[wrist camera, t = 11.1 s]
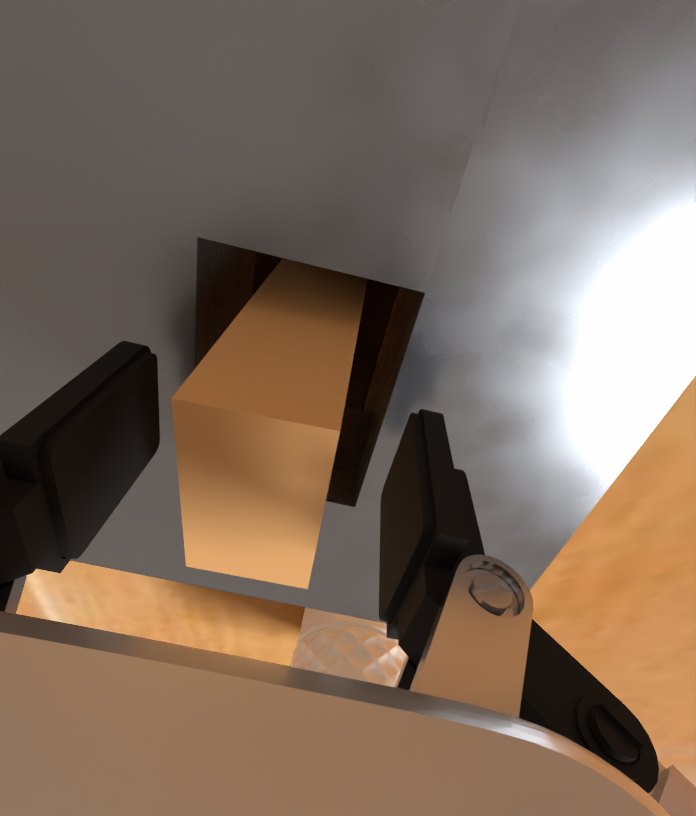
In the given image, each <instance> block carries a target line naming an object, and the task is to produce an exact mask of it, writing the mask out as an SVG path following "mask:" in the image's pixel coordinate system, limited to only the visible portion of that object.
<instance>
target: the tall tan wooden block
mask: <svg viewBox="0 0 696 816" xmlns="http://www.w3.org/2000/svg"><path fill="white" fill-rule="evenodd" d="M367 280H368V279H367V278H363V277H359V276H355V275H350V274H346V273H342V272H338V271H334V270H330V269H326V268H322V267H318V266H314V265H310V264H306V263H301V262H297V261H293V260H289V259H285V258H283V259H282V260H281V261H280V262H279V264H278V265H277V266H276V267H275V269H274V270H273V271H272V272H271V274H270V275H269V276H268V277H267V279H266V280H265V281H264V282H263V284H262V285H261V286H260V288H259V289H258V290H257V291H256V293H255V294H254V295H253V296H252V298H251V299H250V300H249V301H248V303H247V304H246V305H245V306H244V308H243V309H242V310H241V311H240V313H239V314H238V315H237V316H236V318H235V319H234V320H233V321H232V323H231V324H230V325H229V327H228V328H227V329H226V330H225V332H224V333H223V334H222V335H221V337H220V338H219V339H218V340H217V342H216V343H215V344H214V345H213V347H212V348H211V349H210V350H209V352H208V353H207V354H206V355H205V357H204V358H203V359H202V360H201V362H200V363H199V364H198V366H197V367H196V368H195V369H194V371H193V372H192V373H191V374H190V376H189V377H188V378H187V379H186V381H185V382H184V383H183V384H182V386H181V387H180V388H179V389H178V391H177V392H176V393H175V394H174V396H173V397H172V398H171V400H172V411H173V423H174V434H175V446H176V457H177V469H178V480H179V492H180V503H181V515H182V526H183V538H184V549H185V561H186V567H192V568H197V569H202V570H208V571H213V572H218V573H224V574H229V575H234V576H240V577H245V578H250V579H256V580H261V581H266V582H272V583H277V584H282V585H288V586H293V587H298V588H304V589H308V586H309V581H310V576H311V571H312V566H313V561H314V556H315V551H316V547H317V542H318V537H319V532H320V527H321V522H322V517H323V512H324V507H325V503H326V498H327V493H328V488H329V483H330V478H331V473H332V468H333V464H334V459H335V454H336V449H337V444H338V439H339V434H340V429H341V424H342V418H343V412H344V407H345V401H346V396H347V390H348V385H349V379H350V374H351V368H352V363H353V357H354V352H355V346H356V341H357V335H358V330H359V324H360V319H361V313H362V307H363V302H364V296H365V291H366V285H367Z"/></svg>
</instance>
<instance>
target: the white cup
mask: <svg viewBox="0 0 696 816" xmlns="http://www.w3.org/2000/svg"><path fill="white" fill-rule="evenodd" d="M406 656H407V655H406V654H405V652H404V651H403V650H402V649H401V648H400V646H399V645H398V640H396V639H390V638H387V624H386V623H381V622H376V621H371V620H366V619H361V618H356V617H351V616H346V615H341V614H336V613H331V612H326V611H321V610H316V609H311V608H306V607H305V611H304V616H303V620H302V625H301V630H300V635H299V638H298V641H297V645H296V648H295V650H294V652H293V654H292V660H291V665H290V667H295V668H300V669H305V670H310V671H315V672H320V673H325V674H330V675H335V676H340V677H345V678H350V679H356V680H361V681H366V682H371V683H376V684H381V685H386V686H390V687H395V684H396V682H397V679H398V677H399V674H400V672H401V669H402V666H403V664H404V661H405V659H406Z"/></svg>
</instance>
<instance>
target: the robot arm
mask: <svg viewBox="0 0 696 816" xmlns="http://www.w3.org/2000/svg"><path fill="white" fill-rule="evenodd" d="M159 443H160V424H159V393H158V363H157V356H156V354H154V353H151V350H150V348H149V347H148V346H145V345H141V344H137V343H132V342H128V341H121V342H120V343H118V344H117V345H116V346H114V347H113V348H112V349H111V350H109V351H108V352H107V353H105V354H104V355H103V356H102V357H100V358H99V359H98V360H96V361H95V362H94V363H93V364H91V365H90V366H89V367H87V368H86V369H85V370H84V371H82V372H81V373H80V374H78V375H77V376H76V377H75V378H73V379H72V380H71V381H69V382H68V383H67V384H66V385H64V386H63V387H62V388H60V389H59V390H58V391H56V392H55V393H54V394H53V395H51V396H50V397H49V398H47V399H46V400H45V401H44V402H42V403H41V404H40V405H38V406H37V407H36V408H35V409H33V410H32V411H31V412H29V413H28V414H27V415H26V416H24V417H23V418H22V419H20V420H19V421H18V422H17V423H15V424H14V425H13V426H11V427H10V428H9V429H8V430H6V431H5V432H4V433H2V434H1V435H0V816H696V787H695V786H694V785H693V784H692V783H691V782H690V781H689V780H688V779H686V778H685V777H684V776H683V775H682V774H681V773H680V772H679V771H678V770H677V769H676V768H675V767H674V766H673V765H672V766H670V767H668V768H667V769H666V768H665V767H664V766H663V765H662V764H661V763H660V762H658V760H657V755H656V751H655V749H654V747H653V745H652V742H651V740H650V738H649V735H648V734H647V732H646V731H645V729H644V728H643V726H642V725H641V723H640V722H639V720H638V719H637V718H636V717H635V716H634V715H633V714H632V712H631V711H630V710H629V709H628V708H627V707H626V706H625V705H624V704H623V703H622V702H621V701H620V700H619V699H618V698H616V697H615V696H614V695H613V694H612V693H611V692H610V691H609V690H608V689H607V688H606V687H605V686H604V685H602V684H601V683H600V682H599V681H598V680H597V679H596V678H595V677H594V676H593V675H592V674H591V673H590V672H588V671H587V670H586V669H585V668H584V667H583V666H582V665H581V664H580V663H579V662H578V661H577V660H576V659H575V658H573V657H572V656H571V655H570V654H569V653H568V652H567V651H566V650H565V649H564V648H563V647H562V646H561V645H559V644H558V643H557V642H556V641H555V640H554V639H553V638H552V637H551V636H550V635H549V634H548V633H547V632H545V631H544V630H543V629H542V628H541V627H540V626H539V625H538V624H537V623H536V622H535V621H534V620H533V619H532V615H533V598H532V596H531V593H530V591H529V588H528V586H527V585H526V583H525V582H524V580H523V579H522V577H521V576H520V575H519V574H518V573H517V572H516V571H515V570H514V569H513V568H511V567H510V566H508V565H507V564H505V563H504V562H502V561H501V560H498V559H496V558H494V557H491V556H487V555H485V552H484V548H483V543H482V539H481V535H480V531H479V526H478V522H477V518H476V514H475V509H474V505H473V501H472V497H471V492H470V488H469V484H468V480H467V476H466V473H465V472H464V471H463V470H460V469H456V468H454V464H453V460H452V455H451V450H450V445H449V440H448V435H447V430H446V425H445V420H444V416H443V414H442V413H438V412H433V411H429V410H425V409H420V410H419V412H418V414H417V413H411V414H410V416H409V418H408V421H407V424H406V426H405V429H404V432H403V435H402V437H401V440H400V443H399V446H398V448H397V451H396V454H395V457H394V459H393V462H392V465H391V468H390V470H389V473H388V476H387V479H386V481H385V484H384V487H383V490H382V494H381V504H380V567H379V619H380V620H381V621H386V622H387V638H390V639H396V640H398V645H399V646H400V648H401V649H402V650H403V651H404V652H405V654H406V655H407V656H406V659H405V661H404V664H403V666H402V669H401V672H400V674H399V677H398V679H397V682H396V684H395V687H390V686H386V685H381V684H376V683H371V682H366V681H361V680H356V679H350V678H345V677H340V676H335V675H330V674H325V673H320V672H315V671H310V670H305V669H300V668H295V667H290V666H285V665H280V664H274V663H269V662H264V661H259V660H254V659H249V658H244V657H239V656H234V655H228V654H223V653H218V652H213V651H208V650H203V649H197V648H192V647H187V646H182V645H177V644H171V643H166V642H161V641H156V640H151V639H145V638H140V637H135V636H130V635H124V634H119V633H114V632H109V631H103V630H98V629H93V628H88V627H83V626H77V625H72V624H67V623H61V622H56V621H51V620H45V619H40V618H35V617H29V616H24V615H18V614H16V611H17V608H18V604H19V601H20V597H21V594H22V591H23V587H24V584H25V580H26V575H28V574H31V573H33V572H34V571H35V569H36V568H37V569H42V570H47V571H52V572H57V573H61V572H62V570H63V569H64V568H65V566H66V565H67V564H68V562H69V561H70V560H71V559H78V558H79V557H80V556H81V555H82V554H83V553H84V551H85V550H86V548H87V547H88V546H89V544H90V543H91V542H92V540H93V539H94V537H95V536H96V535H97V533H98V532H99V531H100V529H101V528H102V526H103V525H104V524H105V522H106V521H107V520H108V518H109V517H110V515H111V514H112V513H113V511H114V510H115V508H116V507H117V506H118V504H119V503H120V502H121V500H122V499H123V497H124V496H125V495H126V493H127V492H128V491H129V489H130V488H131V486H132V485H133V484H134V482H135V481H136V480H137V478H138V477H139V475H140V474H141V473H142V471H143V470H144V469H145V467H146V466H147V464H148V463H149V462H150V460H151V459H152V457H153V456H154V455H155V453H156V452H157V449H158V447H159Z"/></svg>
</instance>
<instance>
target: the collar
mask: <svg viewBox="0 0 696 816" xmlns="http://www.w3.org/2000/svg"><path fill="white" fill-rule="evenodd" d="M256 252H261V253H265V254H269V255H273V256H277V257H281V258H285V259H289V260H293V261H297V262H301V263H306V264H310V265H314V266H318V267H322V268H326V269H330V270H334V271H338V272H342V273H346V274H350V275H355V276H359V277H363V278H367V279H371V280H375V281H379V282H383V283H387V284H391V285H395V286H399V288H398V292H397V295H396V299H395V302H394V306H393V309H392V313H391V316H390V320H389V323H388V326H387V330H386V333H385V337H384V340H383V344H382V347H381V351H380V354H379V358H378V361H377V364H376V368H375V371H374V375H373V378H372V382H371V385H370V389H369V392H368V396H367V399H366V403H365V406H364V409H363V410H360V409H356V408H352V407H347V406H345V407H344V412H343V418H342V424H341V429H340V434H339V439H338V444H337V449H336V454H335V459H334V464H333V468H332V473H331V478H330V483H329V488H328V493H327V498H326V503H325V507H324V512H323V517H322V522H321V527H320V532H319V537H318V542H317V547H316V551H315V556H314V561H313V566H312V571H311V576H310V581H309V586H308V589H304V588H298V587H293V586H288V585H282V584H277V583H272V582H266V581H261V580H256V579H250V578H245V577H240V576H234V575H229V574H224V573H218V572H213V571H208V570H202V569H197V568H192V567H186V561H185V549H184V538H183V526H182V515H181V503H180V492H179V480H178V469H177V457H176V446H175V434H174V423H173V411H172V400H171V398H172V397H173V396H174V394H175V393H176V392H177V391H178V389H179V388H180V387H181V386H182V384H183V383H184V382H185V381H186V379H187V378H188V377H189V376H190V374H191V373H192V372H193V371H194V369H195V368H196V367H197V366H198V364H199V363H200V362H201V360H202V359H203V358H204V357H205V355H206V354H207V353H208V352H209V350H210V349H211V348H212V347H213V345H214V344H215V343H216V342H217V340H218V339H219V338H220V337H221V335H222V334H223V333H224V332H225V330H226V329H227V328H228V327H229V325H230V324H231V323H232V321H233V320H234V319H235V318H236V316H237V315H238V314H239V313H240V311H241V310H242V309H243V308H244V306H245V305H246V304H247V303H248V301H249V300H250V299H251V298H252V292H253V282H254V271H255V261H256ZM121 341H128V342H132V343H137V344H141V345H145V346H148V347H149V348H150V350H151V353H154V354H156V356H157V363H158V393H159V424H160V443H159V447H158V449H157V452H156V453H155V455H154V456H153V457H152V459H151V460H150V462H149V463H148V464H147V466H146V467H145V469H144V470H143V471H142V473H141V474H140V475H139V477H138V478H137V480H136V481H135V482H134V484H133V485H132V486H131V488H130V489H129V491H128V492H127V493H126V495H125V496H124V497H123V499H122V500H121V502H120V503H119V504H118V506H117V507H116V508H115V510H114V511H113V513H112V514H111V515H110V517H109V518H108V520H107V521H106V522H105V524H104V525H103V526H102V528H101V529H100V531H99V532H98V533H97V535H96V536H95V537H94V539H93V540H92V542H91V543H90V544H89V546H88V547H87V548H86V550H85V551H84V553H83V554H82V555H81V556H80V557H79V558H78V559H71V561H76V562H81V563H86V564H91V565H96V566H101V567H106V568H111V569H116V570H121V571H126V572H131V573H136V574H141V575H146V576H151V577H156V578H161V579H166V580H171V581H176V582H181V583H186V584H191V585H196V586H201V587H206V588H211V589H216V590H221V591H226V592H231V593H236V594H241V595H246V596H251V597H256V598H261V599H266V600H271V601H276V602H281V603H286V604H291V605H296V606H301V607H306V608H311V609H316V610H321V611H326V612H331V613H336V614H341V615H346V616H351V617H356V618H361V619H366V620H371V621H376V622H381V623H386V624H387V622H386V621H381V620H380V619H379V567H380V504H381V494H382V490H383V487H384V484H385V481H386V479H387V476H388V473H389V470H390V468H391V465H392V462H393V459H394V457H395V454H396V451H397V448H398V446H399V443H400V440H401V437H402V435H403V432H404V429H405V426H406V424H407V421H408V418H409V416H410V414H411V413H417V414H418V412H419V410H420V409H425V410H429V411H433V412H438V413H442V414H443V416H444V420H445V425H446V430H447V435H448V440H449V445H450V450H451V455H452V460H453V464H454V468H456V469H460V470H463V471H464V472H465V473H466V476H467V480H468V484H469V488H470V492H471V497H472V501H473V505H474V509H475V514H476V518H477V522H478V526H479V531H480V535H481V539H482V543H483V548H484V552H485V555H487V556H491V557H494V558H496V559H498V560H501V561H502V562H504V563H505V564H507V565H508V566H510V567H511V568H513V569H514V570H515V571H516V572H517V573H518V574H519V575H520V576H521V577H522V579H523V580H524V582H525V583H526V585H527V586H528V588H529V591H530V589H531V588H532V587H533V585H534V584H535V583H536V581H537V580H538V579H539V578H540V576H541V575H542V574H543V572H544V571H545V570H546V568H547V567H548V566H549V565H550V563H551V562H552V561H553V559H554V558H555V557H556V555H557V554H558V553H559V552H560V550H561V549H562V548H563V546H564V545H565V544H566V542H567V541H568V540H569V539H570V537H571V536H572V535H573V533H574V532H575V531H576V529H577V528H578V527H579V526H580V524H581V523H582V522H583V520H584V519H585V518H586V516H587V515H588V514H589V513H590V511H591V510H592V509H593V507H594V506H595V505H596V503H597V502H598V501H599V500H600V498H601V497H602V496H603V494H604V493H605V492H606V490H607V489H608V488H609V487H610V485H611V484H612V483H613V481H614V480H615V479H616V477H617V476H618V475H619V474H620V472H621V471H622V470H623V468H624V467H625V466H626V464H627V463H628V462H629V461H630V459H631V458H632V457H633V455H634V454H635V453H636V451H637V450H638V449H639V448H640V446H641V445H642V444H643V442H644V441H645V440H646V438H647V437H648V436H649V435H650V433H651V432H652V431H653V429H654V428H655V427H656V425H657V424H658V423H659V422H660V420H661V419H662V418H663V416H664V415H665V414H666V412H667V411H668V410H669V409H670V407H671V406H672V405H673V403H674V402H675V401H676V399H677V398H678V397H679V396H680V394H681V393H682V392H683V390H684V389H685V388H686V386H687V385H688V384H689V383H690V381H691V380H692V379H693V377H694V376H695V375H696V0H0V435H1V434H2V433H4V432H5V431H6V430H8V429H9V428H10V427H11V426H13V425H14V424H15V423H17V422H18V421H19V420H20V419H22V418H23V417H24V416H26V415H27V414H28V413H29V412H31V411H32V410H33V409H35V408H36V407H37V406H38V405H40V404H41V403H42V402H44V401H45V400H46V399H47V398H49V397H50V396H51V395H53V394H54V393H55V392H56V391H58V390H59V389H60V388H62V387H63V386H64V385H66V384H67V383H68V382H69V381H71V380H72V379H73V378H75V377H76V376H77V375H78V374H80V373H81V372H82V371H84V370H85V369H86V368H87V367H89V366H90V365H91V364H93V363H94V362H95V361H96V360H98V359H99V358H100V357H102V356H103V355H104V354H105V353H107V352H108V351H109V350H111V349H112V348H113V347H114V346H116V345H117V344H118V343H120V342H121Z"/></svg>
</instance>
